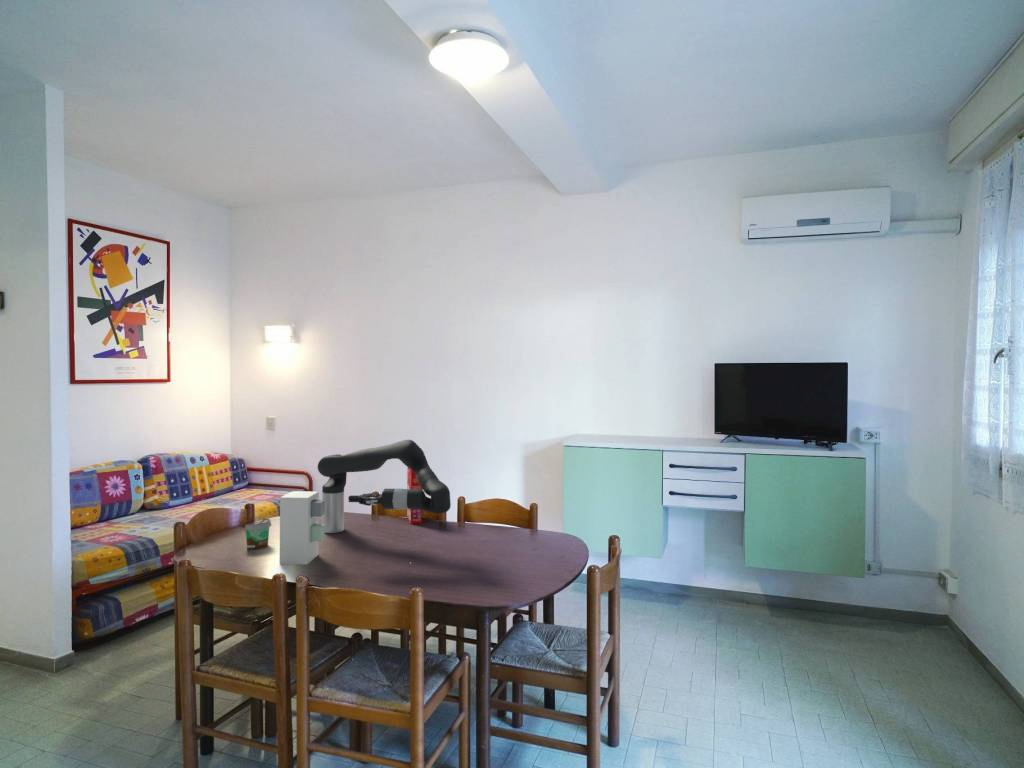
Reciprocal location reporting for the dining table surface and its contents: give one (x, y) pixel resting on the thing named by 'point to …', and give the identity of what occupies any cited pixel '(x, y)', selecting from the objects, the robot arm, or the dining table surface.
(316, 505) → the grey square block
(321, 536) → the sage key
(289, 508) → the key tower
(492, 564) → the dining table surface
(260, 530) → the food container
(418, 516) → the food packaging
